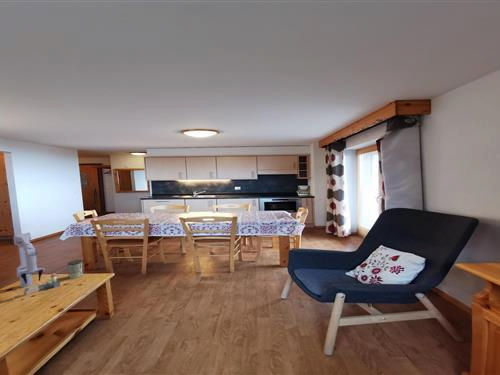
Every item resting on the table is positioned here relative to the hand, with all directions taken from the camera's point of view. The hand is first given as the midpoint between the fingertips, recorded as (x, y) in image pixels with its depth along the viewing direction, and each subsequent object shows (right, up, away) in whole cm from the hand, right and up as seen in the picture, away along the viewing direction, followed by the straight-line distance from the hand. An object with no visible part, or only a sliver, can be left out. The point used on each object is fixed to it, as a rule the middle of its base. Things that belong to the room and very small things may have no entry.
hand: (32, 281), depth 186 cm
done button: (+5, -5, +8) cm, 11 cm away
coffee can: (+11, -8, +30) cm, 33 cm away
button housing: (+5, -8, +9) cm, 13 cm away
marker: (+3, -8, +17) cm, 19 cm away
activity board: (-1, -9, +10) cm, 13 cm away
